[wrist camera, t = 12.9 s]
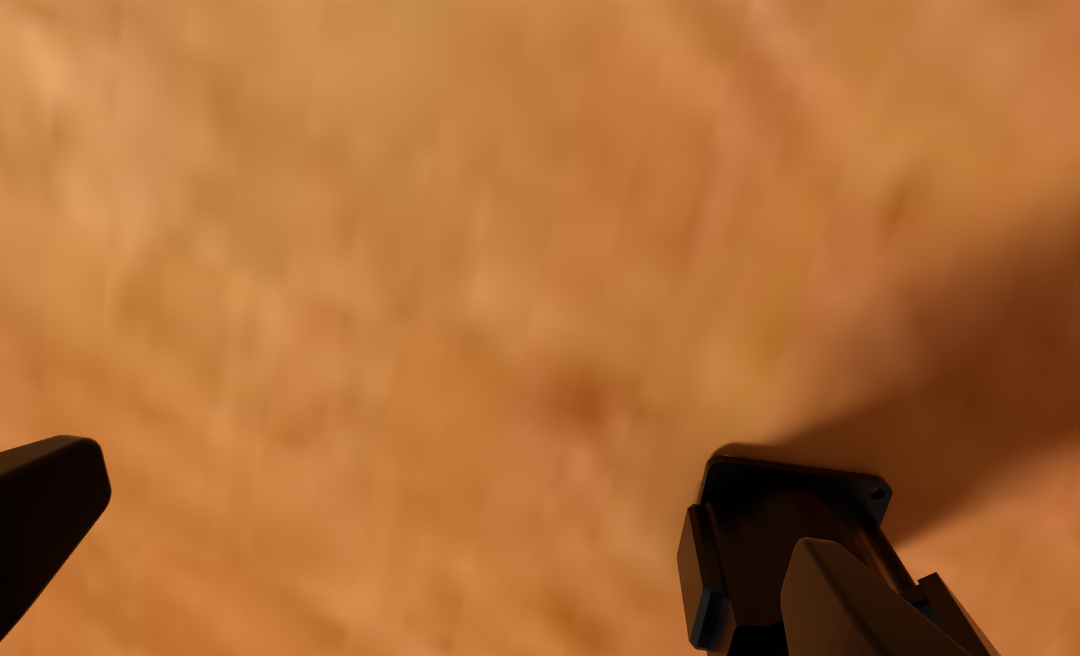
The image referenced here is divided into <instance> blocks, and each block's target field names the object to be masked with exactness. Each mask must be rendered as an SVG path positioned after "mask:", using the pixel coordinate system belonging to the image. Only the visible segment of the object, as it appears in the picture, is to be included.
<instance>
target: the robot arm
mask: <svg viewBox="0 0 1080 656" xmlns="http://www.w3.org/2000/svg"><path fill="white" fill-rule="evenodd" d="M722 467H723V468H726V470H725V471H723V472H720V473H718V472H715V470H716V469H718V468H722ZM875 488H880V489H879V490H878V491H876V492H874V493H870V492H871V491H872V490H873V489H875ZM111 491H112V490H111V484H110V481H109V477H108V473H107V469H106V465H105V461H104V457H103V453H102V449H101V447H100V445H99V444H98V443H97V441H95V440H93V439H91V438H86V437H79V436H71V435H58V436H54V437H51V438H47V439H44V440H40V441H37V442H33V443H30V444H27V445H23V446H20V447H16V448H13V449H9V450H6V451H2V452H0V642H1V641H2V640H3V639H4V637H5V636H6V635H7V634H8V633H9V632H10V631H11V629H12V628H13V627H14V626H15V625H16V624H17V623H18V621H19V620H20V619H21V618H22V617H23V616H24V614H25V613H26V612H27V611H28V609H29V608H30V607H31V606H32V604H33V603H34V602H35V601H36V599H37V598H38V597H39V595H40V594H41V593H42V592H43V590H44V589H45V588H46V586H47V585H48V584H49V582H50V581H51V580H52V579H53V577H54V576H55V575H56V573H57V572H58V571H59V569H60V568H61V567H62V565H63V564H64V563H65V562H66V560H67V559H68V558H69V556H70V555H71V554H72V552H73V551H74V550H75V549H76V547H77V546H78V545H79V543H80V542H81V541H82V539H83V538H84V537H85V535H86V534H87V533H88V532H89V530H90V529H91V528H92V526H93V525H94V524H95V522H96V521H97V520H98V519H99V517H100V516H101V515H102V513H103V512H104V511H105V509H106V508H107V506H108V504H109V502H110V498H111ZM891 496H892V490H891V487H890V486H889V485H888V483H887V482H886V480H884V479H883V478H882V477H879V476H875V475H867V474H859V473H852V472H844V471H837V470H829V469H821V468H814V467H806V466H798V465H791V464H783V463H775V462H768V461H760V460H752V459H745V458H737V457H729V456H715V457H712V458H711V459H709V460H708V462H707V464H706V467H705V471H704V475H703V480H702V484H701V488H700V493H699V497H698V502H697V504H692V505H691V506H690V507H689V508H688V509H687V513H686V517H685V522H684V526H683V531H682V535H681V540H680V544H679V549H678V553H677V563H678V569H679V576H680V583H681V590H682V597H683V604H684V610H685V617H686V624H687V631H688V638H689V642H690V643H691V644H692V646H693V647H694V648H695V649H698V650H705V651H707V656H1001V655H1000V654H999V653H998V652H997V650H996V649H995V648H994V646H993V645H992V644H991V642H990V641H989V640H988V639H987V637H986V636H985V635H984V633H983V632H982V631H981V629H980V628H979V627H978V625H977V624H976V623H975V622H974V620H973V619H972V618H971V616H970V615H969V614H968V612H967V611H966V610H965V609H964V607H963V606H962V605H961V603H960V602H959V601H958V599H957V598H956V597H955V596H954V594H953V593H952V592H951V590H950V589H949V588H948V586H947V585H946V584H945V583H944V581H943V580H942V579H941V577H940V576H939V575H938V573H937V572H935V573H933V574H930V575H928V576H926V577H924V578H921V579H919V580H917V581H918V583H919V584H918V585H916V584H915V582H914V581H913V579H912V577H911V576H910V574H909V573H908V571H907V570H906V568H905V566H904V565H903V563H902V562H901V560H900V558H899V557H898V555H897V554H896V552H895V550H894V549H893V547H892V546H891V544H890V542H889V541H888V539H887V538H886V536H885V535H884V533H883V531H882V530H881V528H880V525H881V522H882V520H883V517H884V514H885V512H886V509H887V507H888V504H889V502H890V499H891Z"/></svg>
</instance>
